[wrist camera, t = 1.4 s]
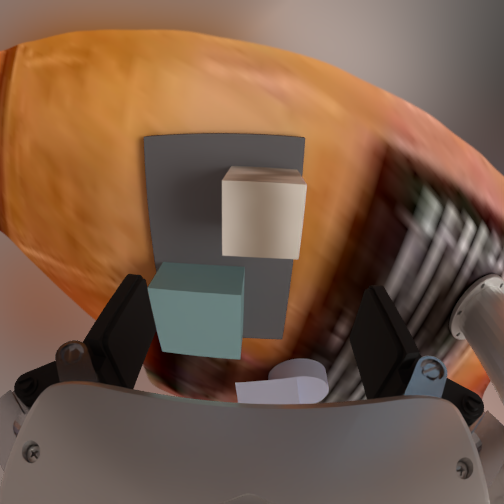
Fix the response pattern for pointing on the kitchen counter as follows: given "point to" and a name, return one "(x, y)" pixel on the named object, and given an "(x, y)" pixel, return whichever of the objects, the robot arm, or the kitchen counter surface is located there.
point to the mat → (216, 212)
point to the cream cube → (262, 212)
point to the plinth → (199, 309)
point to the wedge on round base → (287, 384)
